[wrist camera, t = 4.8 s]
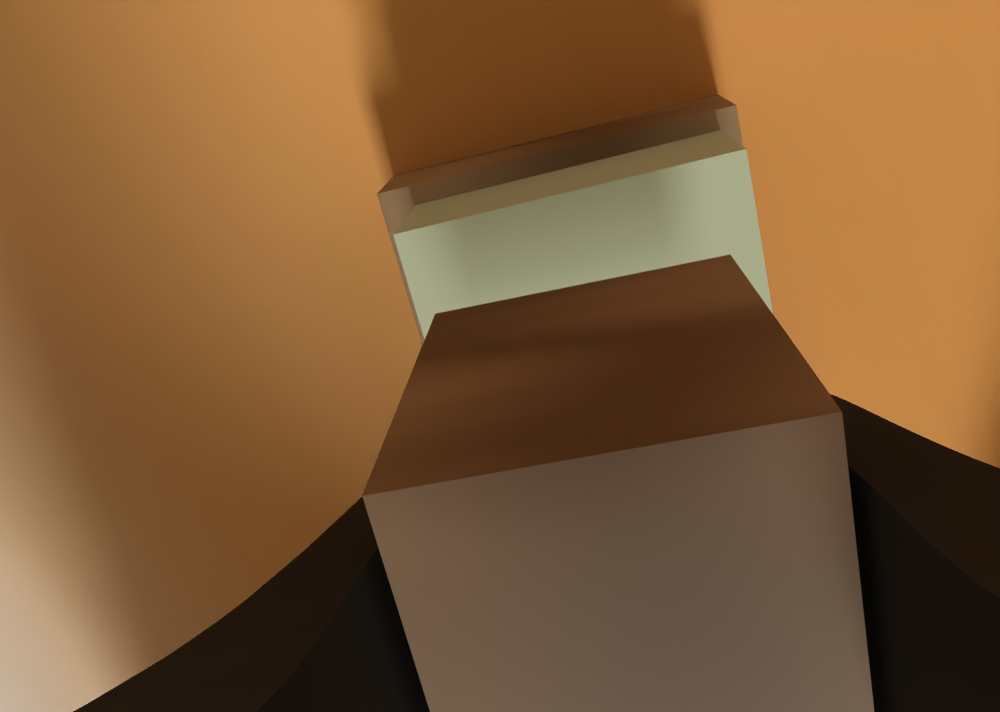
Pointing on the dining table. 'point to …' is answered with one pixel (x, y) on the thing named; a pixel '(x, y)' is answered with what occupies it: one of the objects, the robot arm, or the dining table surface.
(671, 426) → the walnut block
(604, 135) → the slab bottom
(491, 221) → the slab top
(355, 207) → the dining table surface
